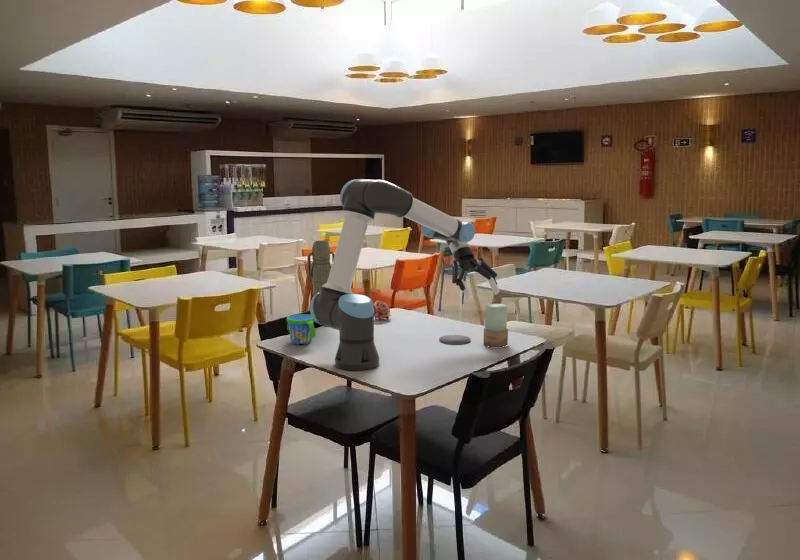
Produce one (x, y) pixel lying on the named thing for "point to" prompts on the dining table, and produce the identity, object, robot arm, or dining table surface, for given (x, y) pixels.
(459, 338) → the mat
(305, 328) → the snack cup
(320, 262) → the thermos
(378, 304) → the flower
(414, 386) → the dining table surface
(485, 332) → the brown wooden block
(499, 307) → the cap
